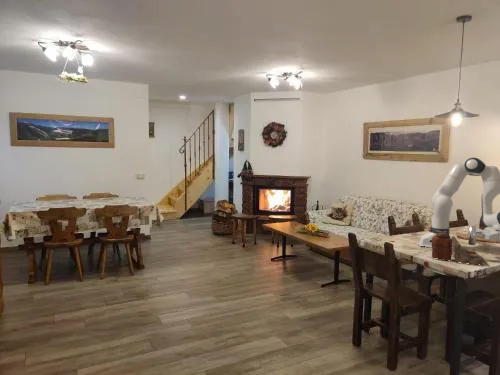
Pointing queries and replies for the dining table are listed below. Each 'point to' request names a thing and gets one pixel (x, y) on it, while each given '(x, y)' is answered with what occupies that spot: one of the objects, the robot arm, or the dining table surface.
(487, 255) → the dining table surface
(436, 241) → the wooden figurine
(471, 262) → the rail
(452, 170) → the robot arm
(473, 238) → the peg
